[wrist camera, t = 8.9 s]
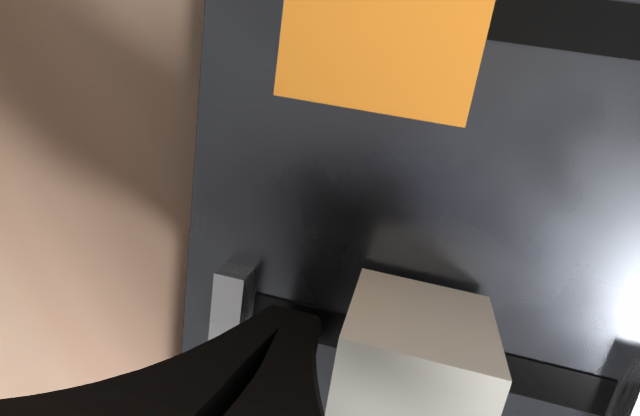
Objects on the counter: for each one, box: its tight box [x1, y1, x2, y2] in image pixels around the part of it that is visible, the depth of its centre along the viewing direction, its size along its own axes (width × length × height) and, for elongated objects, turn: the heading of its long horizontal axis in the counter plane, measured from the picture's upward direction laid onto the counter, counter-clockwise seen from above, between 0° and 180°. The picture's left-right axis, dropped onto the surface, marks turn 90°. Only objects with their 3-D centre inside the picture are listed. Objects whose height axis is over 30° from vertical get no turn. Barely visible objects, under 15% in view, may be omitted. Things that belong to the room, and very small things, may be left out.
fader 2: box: [325, 268, 512, 416], centre depth 10 cm, size 4×3×3 cm
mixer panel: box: [182, 0, 640, 416], centre depth 11 cm, size 16×15×2 cm
